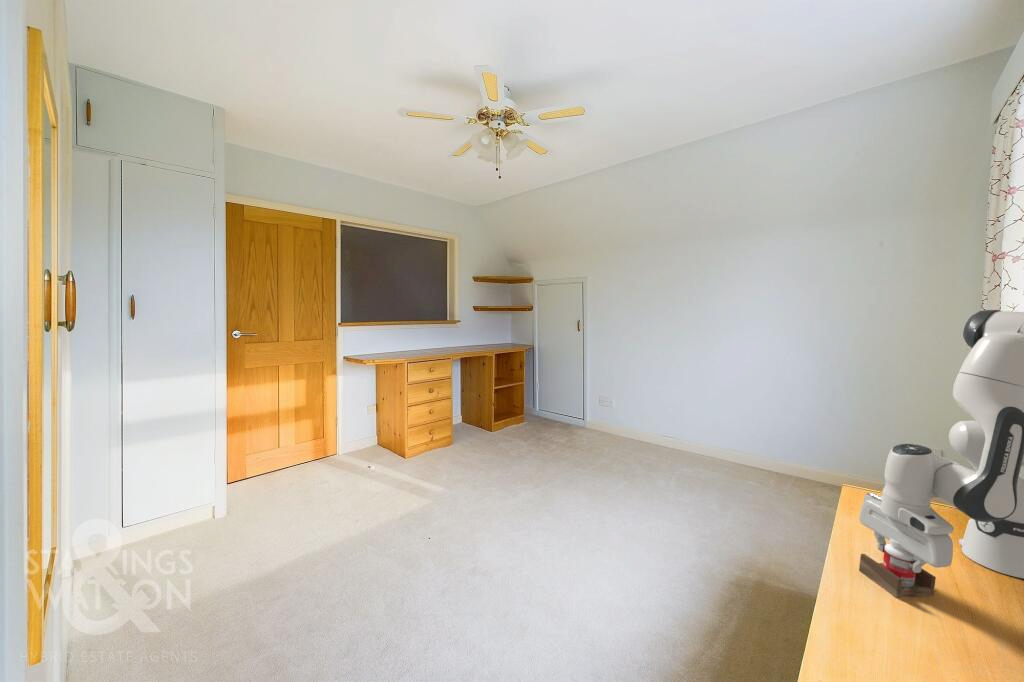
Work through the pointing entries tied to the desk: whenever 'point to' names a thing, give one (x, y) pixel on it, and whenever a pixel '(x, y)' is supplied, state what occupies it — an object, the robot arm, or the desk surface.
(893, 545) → the pill bottle
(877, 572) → the cradle
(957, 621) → the desk surface
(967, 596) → the desk surface
